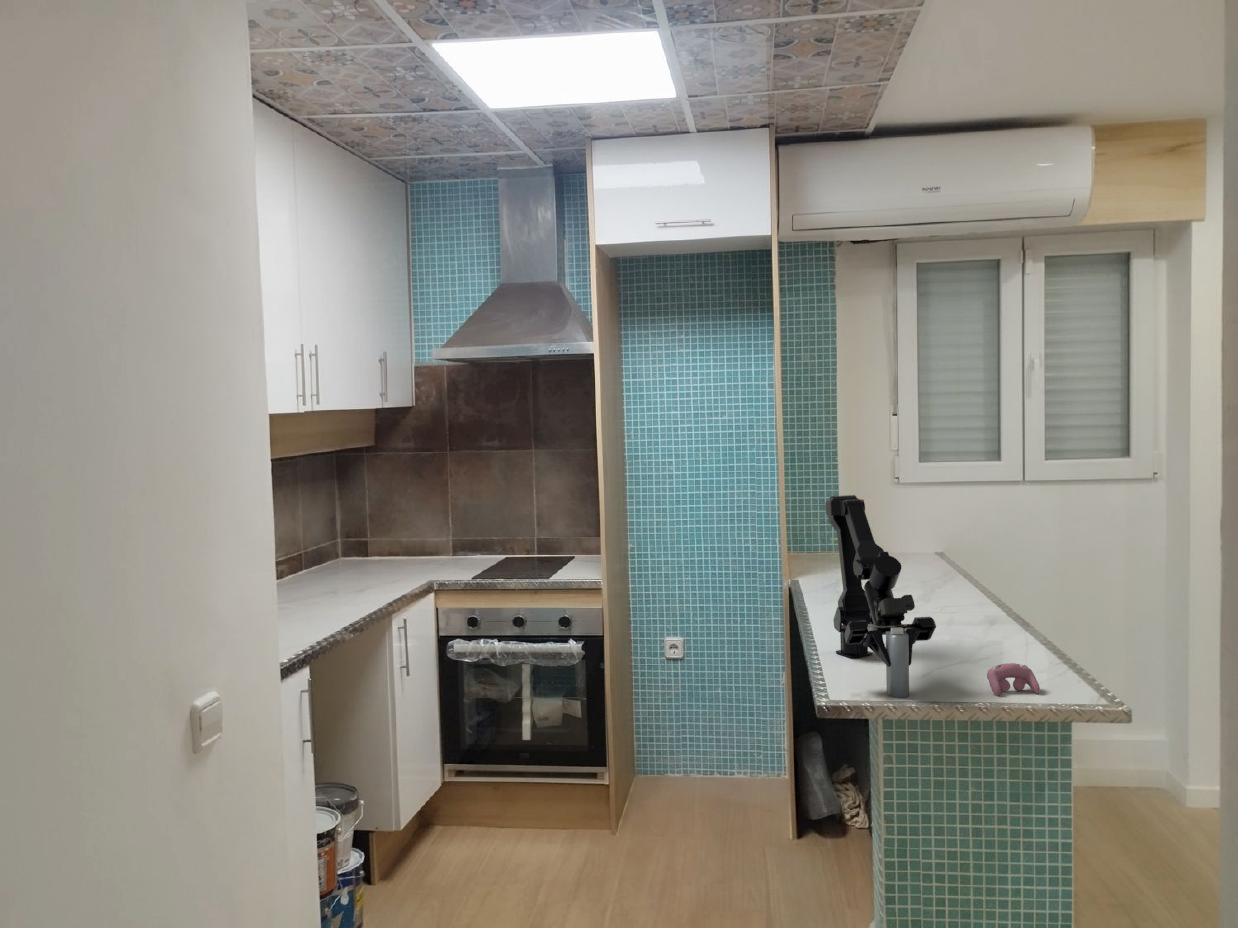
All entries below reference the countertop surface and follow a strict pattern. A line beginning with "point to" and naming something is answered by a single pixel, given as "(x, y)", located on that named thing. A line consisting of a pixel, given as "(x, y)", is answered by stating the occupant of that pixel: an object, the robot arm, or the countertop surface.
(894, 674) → the grey bottle
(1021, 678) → the video game controller
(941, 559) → the countertop surface
